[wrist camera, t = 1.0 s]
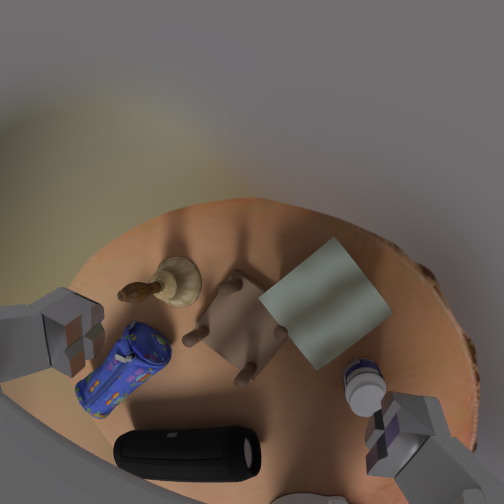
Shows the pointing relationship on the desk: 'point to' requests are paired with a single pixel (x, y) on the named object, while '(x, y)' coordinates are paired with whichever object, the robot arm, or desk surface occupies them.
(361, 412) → the pill bottle
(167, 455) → the portable speaker
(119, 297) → the hand bell
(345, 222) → the desk surface
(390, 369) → the desk surface
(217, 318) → the upturned stool
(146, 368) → the pencil case
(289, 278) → the small table
